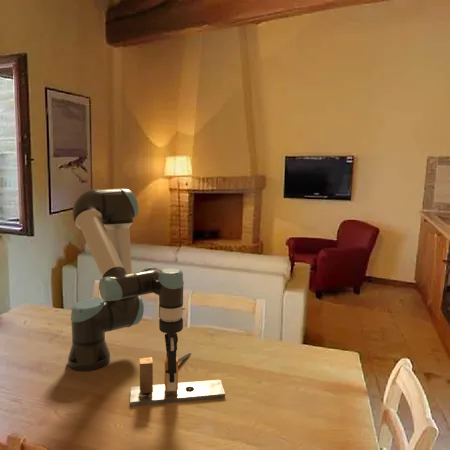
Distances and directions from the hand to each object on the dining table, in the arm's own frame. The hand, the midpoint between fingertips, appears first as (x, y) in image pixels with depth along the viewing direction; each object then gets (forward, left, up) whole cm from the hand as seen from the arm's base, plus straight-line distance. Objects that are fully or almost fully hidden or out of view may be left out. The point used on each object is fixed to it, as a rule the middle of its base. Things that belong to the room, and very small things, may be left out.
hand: (171, 386), depth 138 cm
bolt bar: (0, +2, -3) cm, 4 cm away
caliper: (-20, +4, -4) cm, 21 cm away
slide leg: (0, 0, -1) cm, 1 cm away
